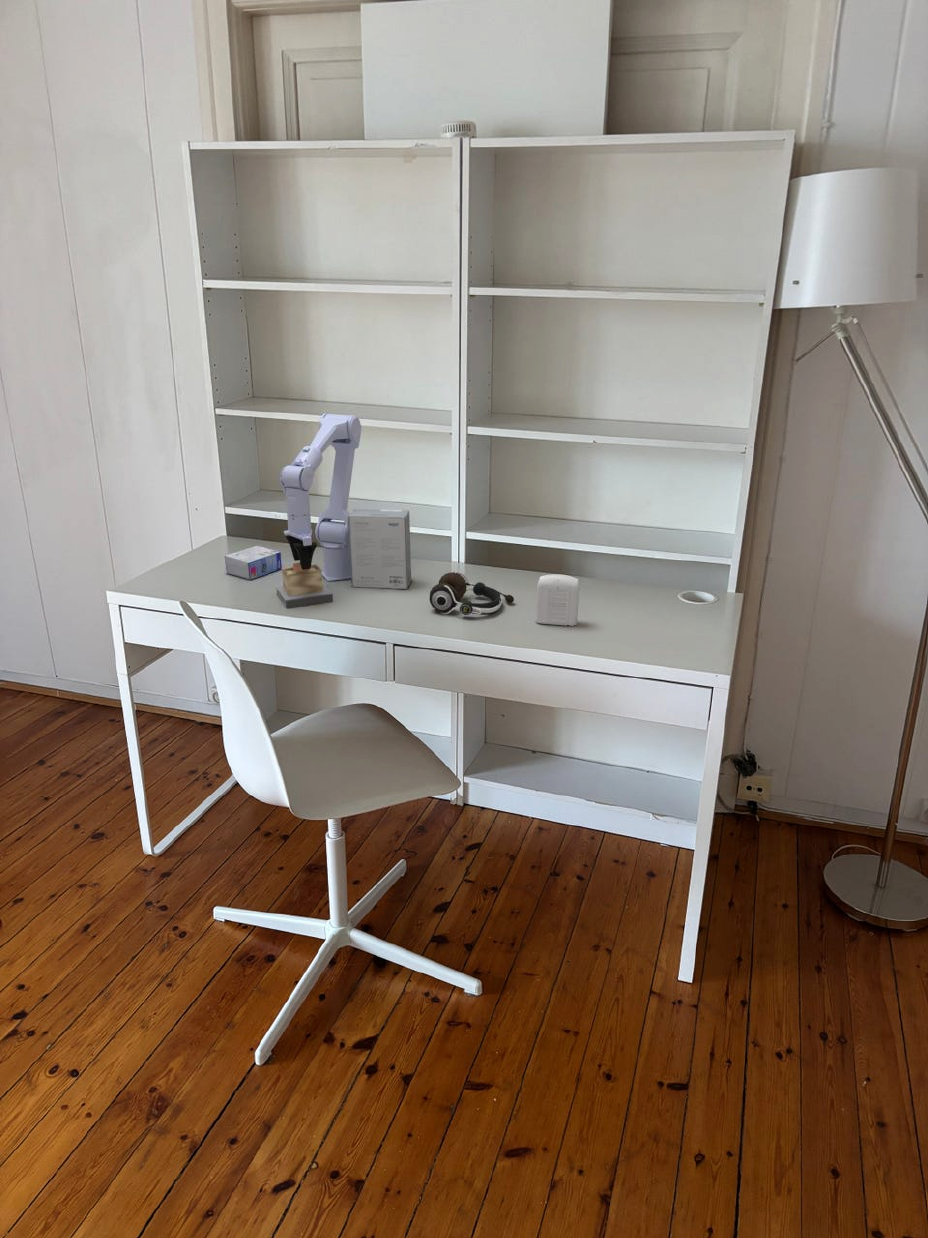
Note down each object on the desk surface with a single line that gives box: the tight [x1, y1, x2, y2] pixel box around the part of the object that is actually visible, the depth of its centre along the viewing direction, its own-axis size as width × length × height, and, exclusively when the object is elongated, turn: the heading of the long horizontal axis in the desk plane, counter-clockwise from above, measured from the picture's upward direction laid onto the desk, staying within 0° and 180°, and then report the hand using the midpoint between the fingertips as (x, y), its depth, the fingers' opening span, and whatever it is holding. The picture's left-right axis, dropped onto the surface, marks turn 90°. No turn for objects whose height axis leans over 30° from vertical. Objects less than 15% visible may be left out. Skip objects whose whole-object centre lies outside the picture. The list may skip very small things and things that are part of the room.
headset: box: [429, 571, 515, 616], centre depth 228 cm, size 17×8×20 cm
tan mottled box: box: [281, 563, 323, 596], centre depth 233 cm, size 9×5×6 cm, turn 114°
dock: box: [276, 582, 334, 609], centre depth 234 cm, size 12×11×2 cm
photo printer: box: [534, 573, 581, 627], centre depth 218 cm, size 10×4×12 cm, turn 81°
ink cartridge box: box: [224, 545, 283, 581], centre depth 253 cm, size 10×6×14 cm
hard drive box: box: [348, 508, 412, 590], centre depth 241 cm, size 16×8×20 cm, turn 84°
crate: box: [292, 561, 309, 573], centre depth 231 cm, size 3×3×2 cm
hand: (302, 564), depth 231 cm, fingers open, 7 cm apart
